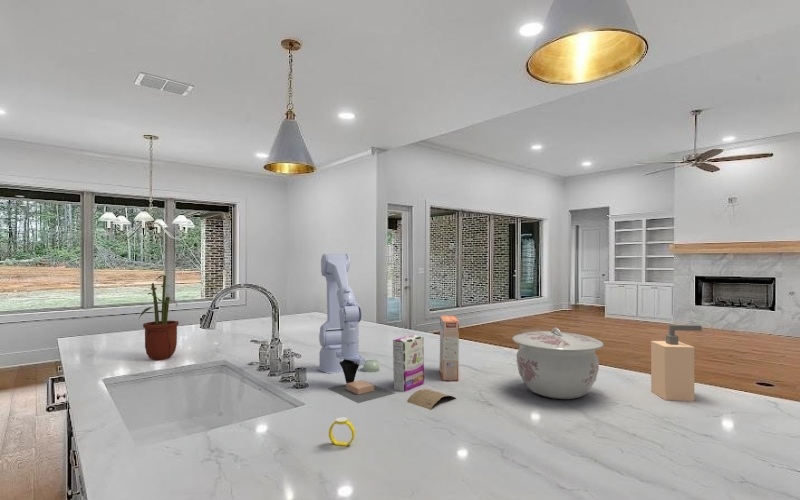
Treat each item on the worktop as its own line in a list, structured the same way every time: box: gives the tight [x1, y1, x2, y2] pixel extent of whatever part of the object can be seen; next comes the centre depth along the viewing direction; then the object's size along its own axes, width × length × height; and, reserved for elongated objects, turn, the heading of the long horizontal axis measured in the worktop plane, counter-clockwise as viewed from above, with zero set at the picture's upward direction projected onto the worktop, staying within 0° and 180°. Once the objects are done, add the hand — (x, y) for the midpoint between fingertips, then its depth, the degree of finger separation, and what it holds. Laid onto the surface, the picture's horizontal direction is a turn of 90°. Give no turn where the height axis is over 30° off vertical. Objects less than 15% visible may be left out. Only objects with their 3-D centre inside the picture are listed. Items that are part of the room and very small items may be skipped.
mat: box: [326, 380, 396, 404], centre depth 139 cm, size 18×14×1 cm
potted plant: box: [138, 274, 180, 361], centre depth 183 cm, size 17×16×35 cm
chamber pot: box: [511, 327, 605, 400], centre depth 139 cm, size 28×28×21 cm
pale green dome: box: [362, 359, 380, 373], centre depth 164 cm, size 6×6×4 cm
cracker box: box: [439, 315, 460, 382], centre depth 158 cm, size 14×6×21 cm, turn 179°
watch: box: [328, 416, 356, 447], centre depth 101 cm, size 6×3×6 cm, turn 79°
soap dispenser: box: [650, 324, 703, 402], centre depth 135 cm, size 13×9×22 cm
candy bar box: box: [392, 334, 425, 393], centre depth 144 cm, size 11×5×16 cm, turn 143°
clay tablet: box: [406, 388, 456, 410], centre depth 131 cm, size 14×10×3 cm
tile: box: [345, 379, 375, 395], centre depth 140 cm, size 2×6×7 cm
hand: (349, 382), depth 144 cm, fingers closed
